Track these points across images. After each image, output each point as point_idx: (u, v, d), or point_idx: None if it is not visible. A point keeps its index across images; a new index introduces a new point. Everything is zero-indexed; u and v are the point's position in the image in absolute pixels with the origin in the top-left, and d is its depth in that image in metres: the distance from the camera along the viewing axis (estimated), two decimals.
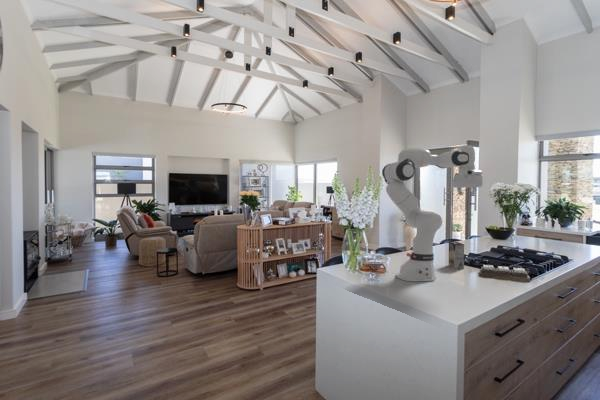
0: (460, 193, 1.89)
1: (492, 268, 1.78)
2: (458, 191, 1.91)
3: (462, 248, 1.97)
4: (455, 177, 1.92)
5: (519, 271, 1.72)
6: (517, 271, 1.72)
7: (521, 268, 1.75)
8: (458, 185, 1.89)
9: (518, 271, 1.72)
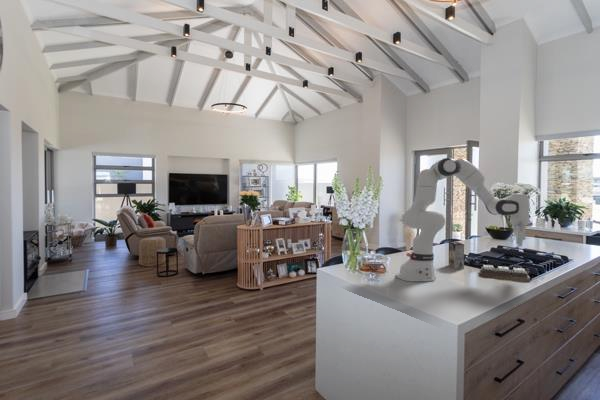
0: None
1: (492, 268, 1.78)
2: None
3: (462, 248, 1.97)
4: (525, 227, 1.66)
5: (519, 271, 1.72)
6: (517, 271, 1.72)
7: (521, 268, 1.75)
8: None
9: (518, 271, 1.72)
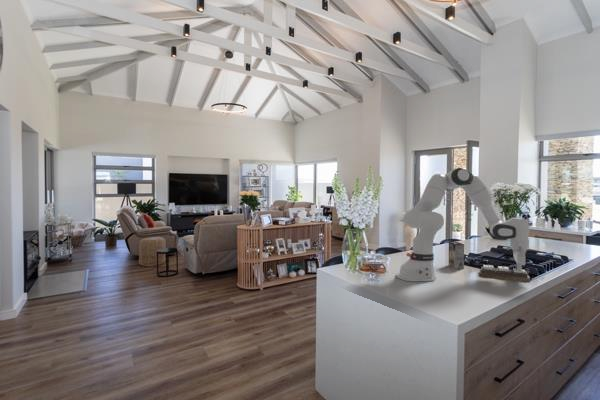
0: (520, 268, 1.74)
1: (492, 268, 1.78)
2: (521, 266, 1.72)
3: (462, 248, 1.97)
4: (524, 253, 1.67)
5: (519, 272, 1.72)
6: (517, 272, 1.72)
7: (521, 269, 1.75)
8: None
9: (518, 272, 1.72)
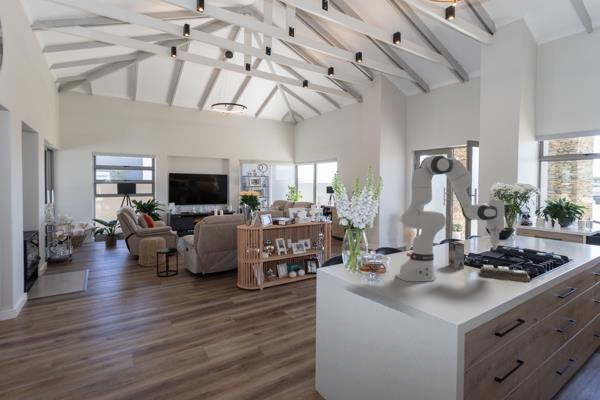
0: (495, 248, 1.79)
1: (492, 268, 1.78)
2: None
3: (462, 248, 1.97)
4: (498, 232, 1.72)
5: None
6: None
7: None
8: None
9: None
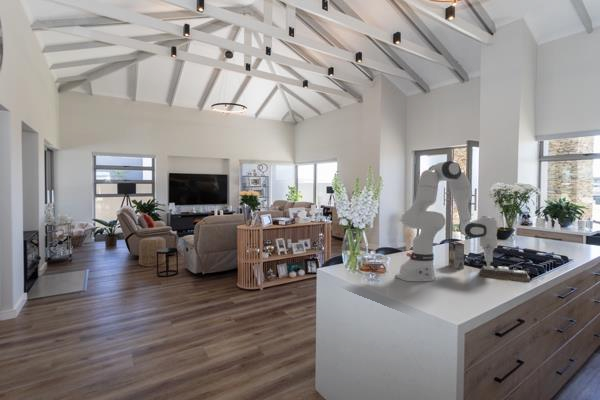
0: (489, 264, 1.81)
1: (492, 269, 1.78)
2: None
3: (462, 248, 1.97)
4: (492, 250, 1.75)
5: None
6: None
7: None
8: None
9: None
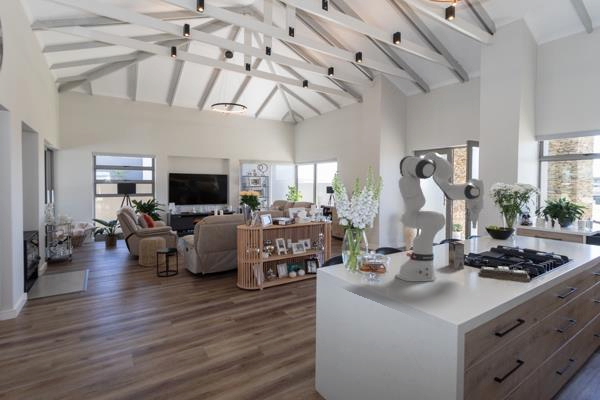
0: None
1: None
2: None
3: (462, 248, 1.97)
4: (478, 210, 1.78)
5: None
6: None
7: None
8: None
9: None
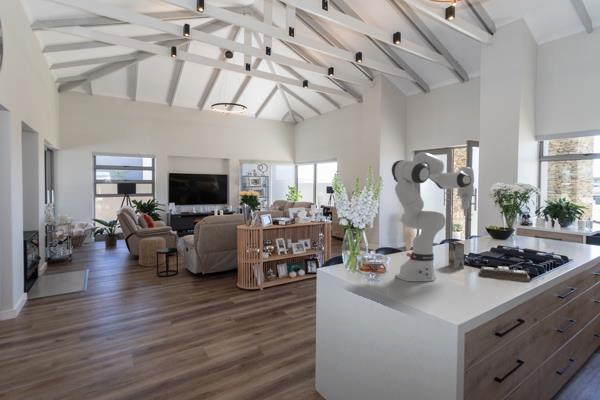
0: (466, 214, 1.88)
1: None
2: None
3: (462, 248, 1.97)
4: (468, 198, 1.81)
5: None
6: None
7: None
8: None
9: None
